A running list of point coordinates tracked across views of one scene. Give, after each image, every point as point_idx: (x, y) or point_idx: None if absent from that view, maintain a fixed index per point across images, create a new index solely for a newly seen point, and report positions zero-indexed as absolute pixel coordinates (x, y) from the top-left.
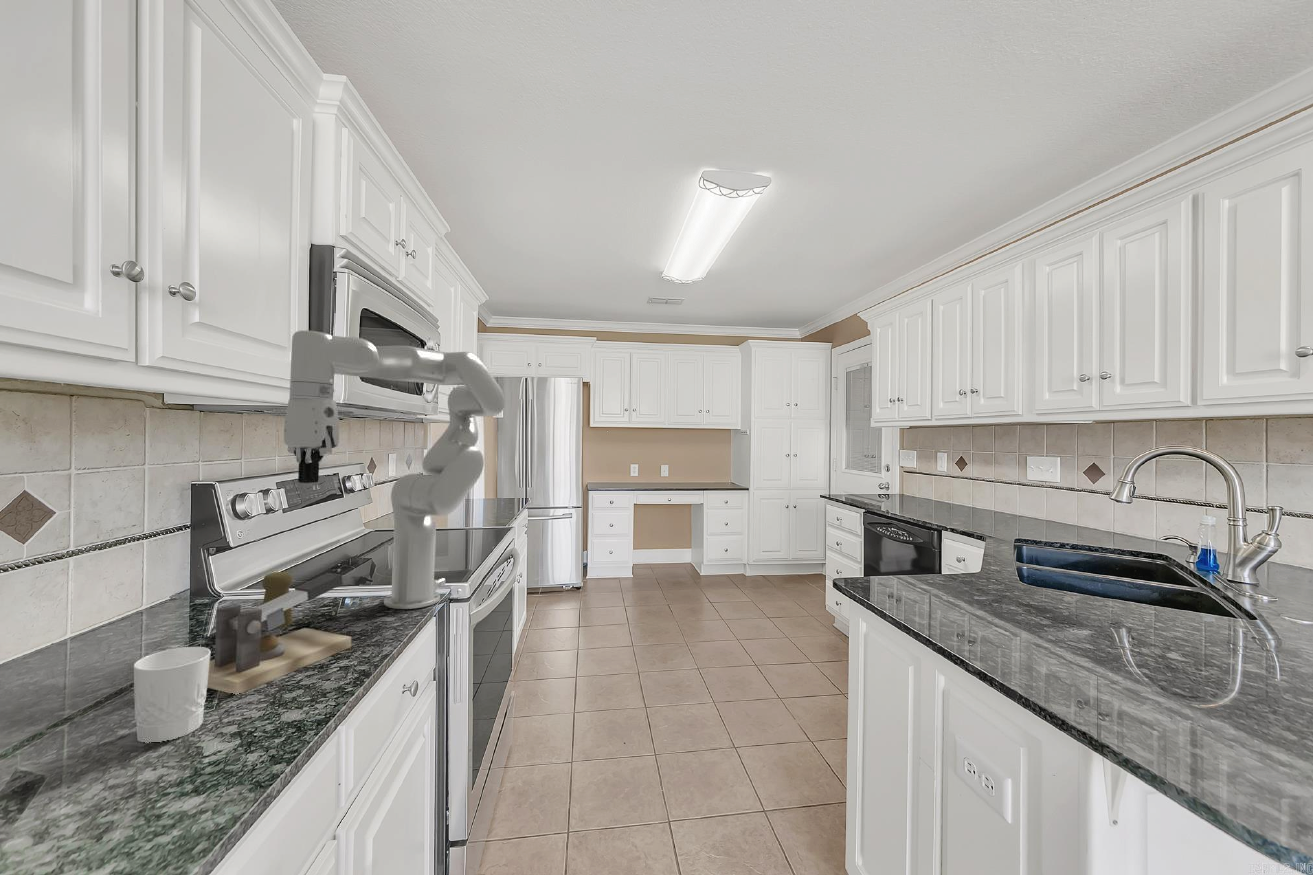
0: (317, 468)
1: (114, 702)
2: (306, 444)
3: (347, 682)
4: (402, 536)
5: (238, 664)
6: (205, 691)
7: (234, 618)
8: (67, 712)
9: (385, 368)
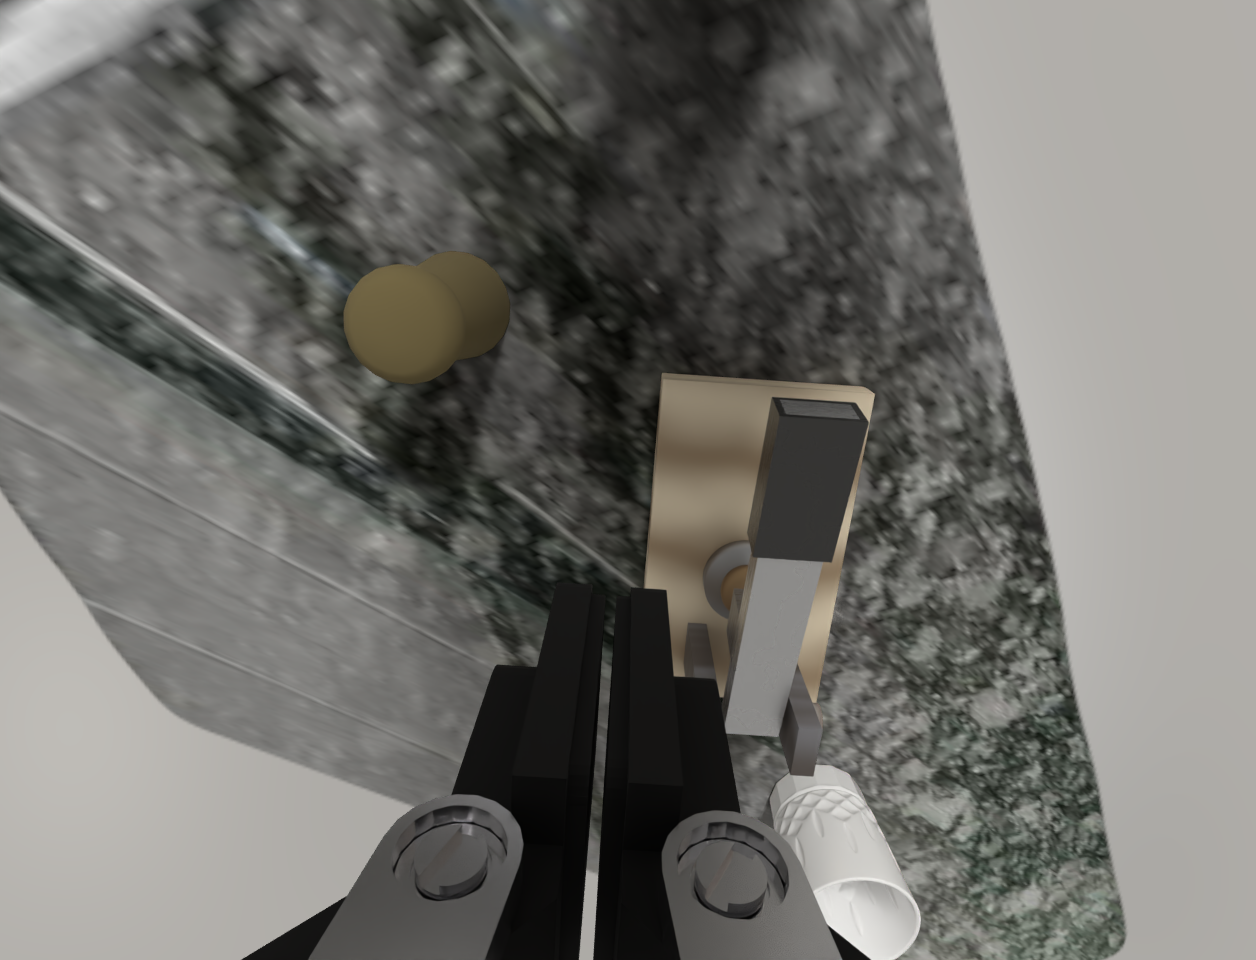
0: (734, 781)
1: (604, 765)
2: None
3: (1010, 570)
4: None
5: None
6: (877, 826)
7: (732, 725)
8: None
9: None
